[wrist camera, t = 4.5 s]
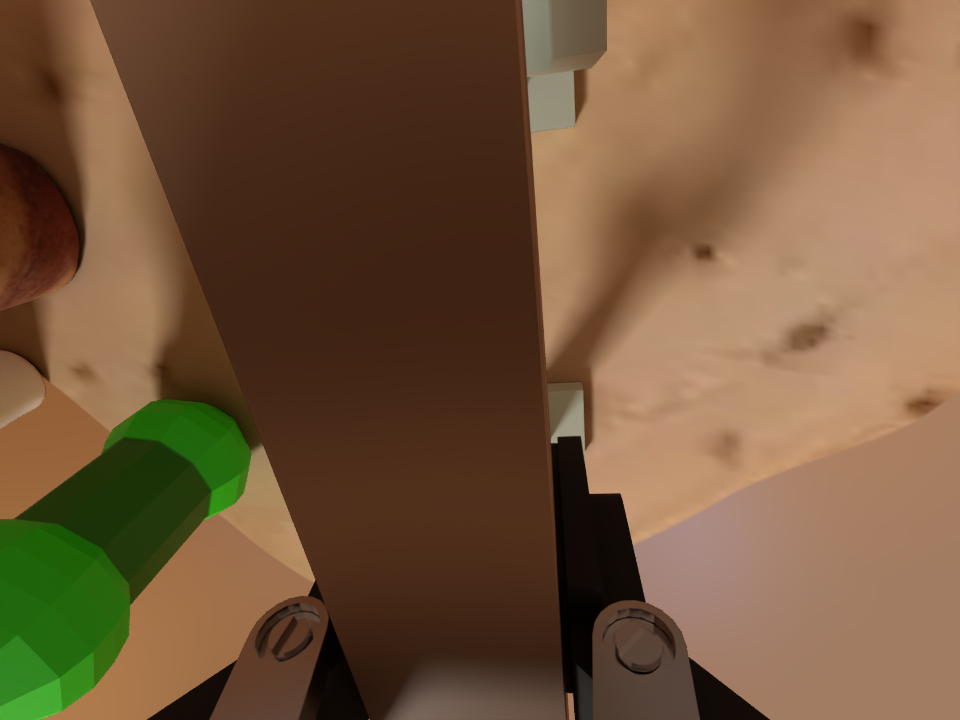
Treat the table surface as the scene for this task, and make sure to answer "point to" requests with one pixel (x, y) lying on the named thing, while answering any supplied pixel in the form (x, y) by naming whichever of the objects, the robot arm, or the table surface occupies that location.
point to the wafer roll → (32, 232)
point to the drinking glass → (18, 387)
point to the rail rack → (561, 122)
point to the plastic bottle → (106, 548)
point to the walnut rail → (377, 315)
